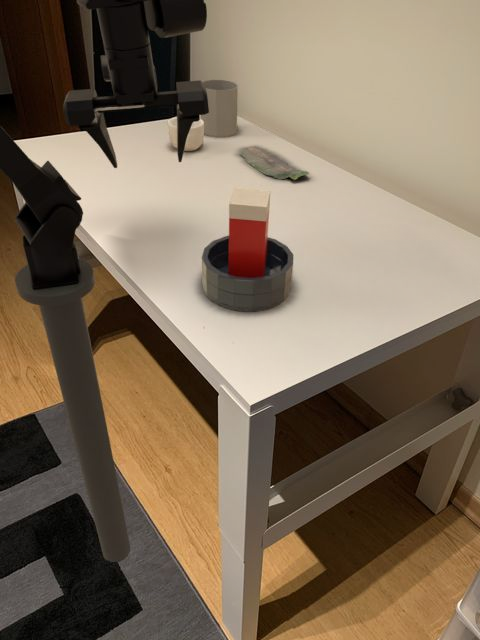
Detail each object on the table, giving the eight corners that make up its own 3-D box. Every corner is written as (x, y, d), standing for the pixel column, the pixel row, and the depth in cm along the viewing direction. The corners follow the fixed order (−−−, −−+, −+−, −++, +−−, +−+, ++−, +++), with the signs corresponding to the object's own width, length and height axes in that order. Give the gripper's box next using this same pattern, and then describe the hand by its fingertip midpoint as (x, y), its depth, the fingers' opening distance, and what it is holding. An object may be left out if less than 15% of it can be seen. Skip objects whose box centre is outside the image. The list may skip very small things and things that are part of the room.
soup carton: (228, 290, 78) (229, 203, 70) (232, 272, 82) (234, 188, 73) (262, 293, 78) (267, 207, 69) (265, 275, 81) (270, 191, 73)
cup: (214, 122, 134) (213, 77, 128) (243, 129, 131) (244, 84, 125) (193, 131, 128) (192, 85, 122) (223, 139, 125) (224, 92, 119)
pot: (216, 318, 74) (216, 286, 71) (193, 269, 83) (192, 239, 80) (303, 303, 77) (307, 273, 74) (272, 258, 86) (274, 229, 83)
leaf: (230, 156, 121) (230, 151, 120) (260, 149, 124) (260, 144, 123) (281, 185, 107) (281, 180, 106) (313, 177, 110) (313, 172, 109)
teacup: (169, 140, 123) (167, 115, 119) (203, 141, 124) (203, 116, 120) (168, 158, 115) (167, 131, 112) (205, 158, 116) (205, 132, 113)
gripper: (197, 23, 76) (208, 136, 87) (58, 33, 75) (87, 147, 85) (203, 45, 68) (214, 167, 79) (47, 57, 66) (80, 179, 77)
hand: (148, 163), depth 80 cm, fingers open, 9 cm apart
